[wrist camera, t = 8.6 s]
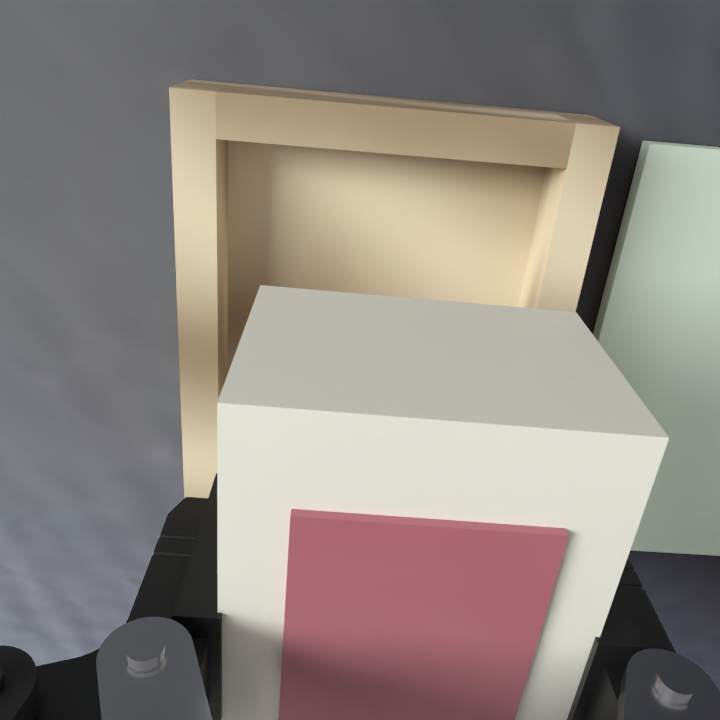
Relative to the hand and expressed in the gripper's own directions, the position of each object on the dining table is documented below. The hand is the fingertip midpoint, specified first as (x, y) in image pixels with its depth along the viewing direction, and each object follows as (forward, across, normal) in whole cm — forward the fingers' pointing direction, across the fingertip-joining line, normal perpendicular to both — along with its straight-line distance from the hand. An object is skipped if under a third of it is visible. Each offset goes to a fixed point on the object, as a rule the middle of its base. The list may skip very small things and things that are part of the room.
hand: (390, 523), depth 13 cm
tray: (+8, 0, 0) cm, 8 cm away
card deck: (0, 0, 0) cm, 0 cm away
